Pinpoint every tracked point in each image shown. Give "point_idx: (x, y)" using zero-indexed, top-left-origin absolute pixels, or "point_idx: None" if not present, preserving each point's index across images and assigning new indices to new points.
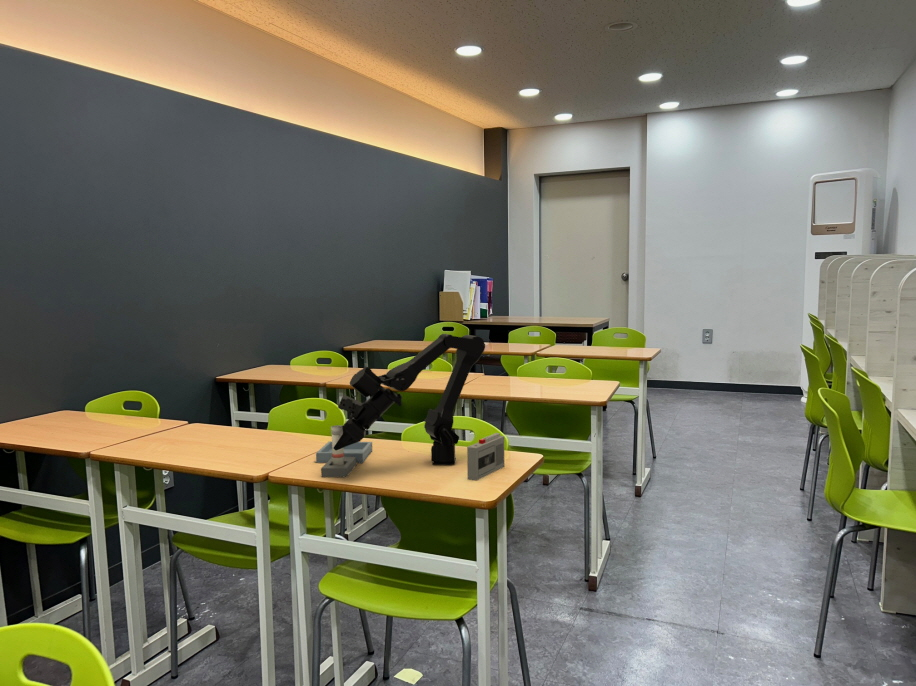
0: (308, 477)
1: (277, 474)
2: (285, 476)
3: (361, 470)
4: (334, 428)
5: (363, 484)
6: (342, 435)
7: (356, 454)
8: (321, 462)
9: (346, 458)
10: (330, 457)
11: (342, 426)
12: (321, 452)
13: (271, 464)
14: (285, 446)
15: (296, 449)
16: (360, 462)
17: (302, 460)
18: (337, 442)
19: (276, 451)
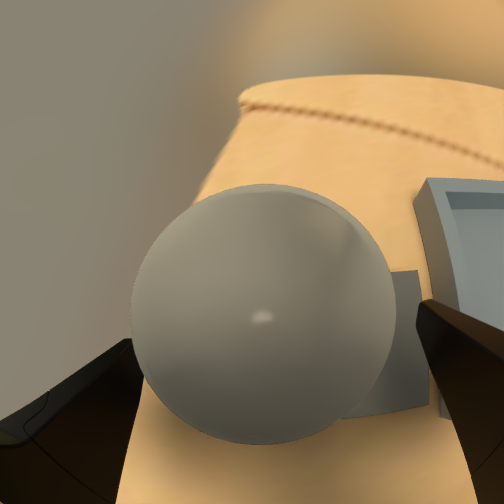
0: None
1: (241, 132)
2: (217, 161)
3: (323, 455)
4: (143, 281)
5: (121, 478)
6: (9, 422)
7: None
8: (418, 222)
9: (393, 364)
10: (437, 252)
11: (286, 420)
12: (441, 198)
13: (347, 88)
14: (496, 94)
15: (496, 117)
16: (442, 406)
17: (422, 149)
18: (80, 373)
19: (457, 81)
